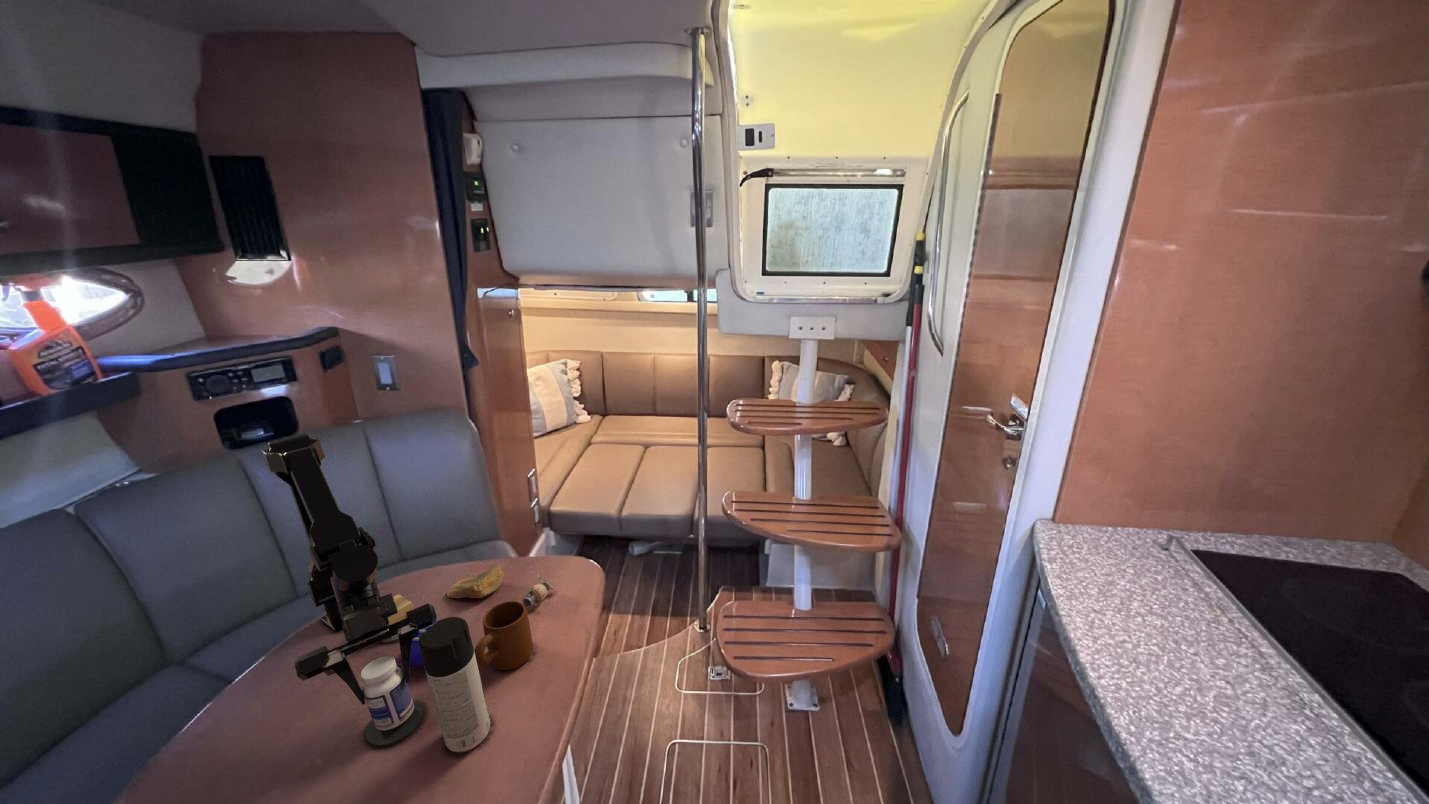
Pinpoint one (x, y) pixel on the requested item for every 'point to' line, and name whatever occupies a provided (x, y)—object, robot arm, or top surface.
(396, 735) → the coaster
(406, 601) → the block
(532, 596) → the vase
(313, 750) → the top surface
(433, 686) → the spray can
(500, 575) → the stone
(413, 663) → the decorative object
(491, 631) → the mug
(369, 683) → the pill bottle
